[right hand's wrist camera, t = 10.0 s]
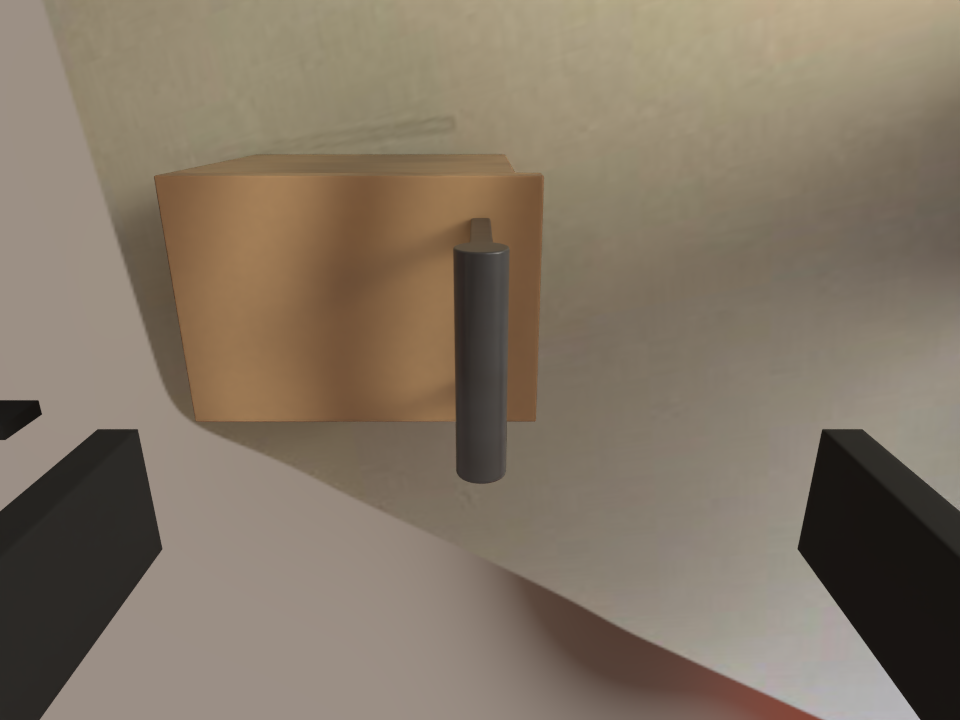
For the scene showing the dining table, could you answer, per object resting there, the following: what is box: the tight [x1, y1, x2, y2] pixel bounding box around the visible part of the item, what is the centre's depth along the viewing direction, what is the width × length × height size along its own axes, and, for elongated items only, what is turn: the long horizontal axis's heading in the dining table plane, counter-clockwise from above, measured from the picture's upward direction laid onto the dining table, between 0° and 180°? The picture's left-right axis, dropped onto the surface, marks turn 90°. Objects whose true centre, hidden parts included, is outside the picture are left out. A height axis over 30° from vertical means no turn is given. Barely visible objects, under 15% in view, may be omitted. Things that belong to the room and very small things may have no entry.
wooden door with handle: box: [154, 173, 544, 484], centre depth 22 cm, size 14×10×8 cm
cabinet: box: [171, 155, 515, 173], centre depth 31 cm, size 13×10×10 cm
